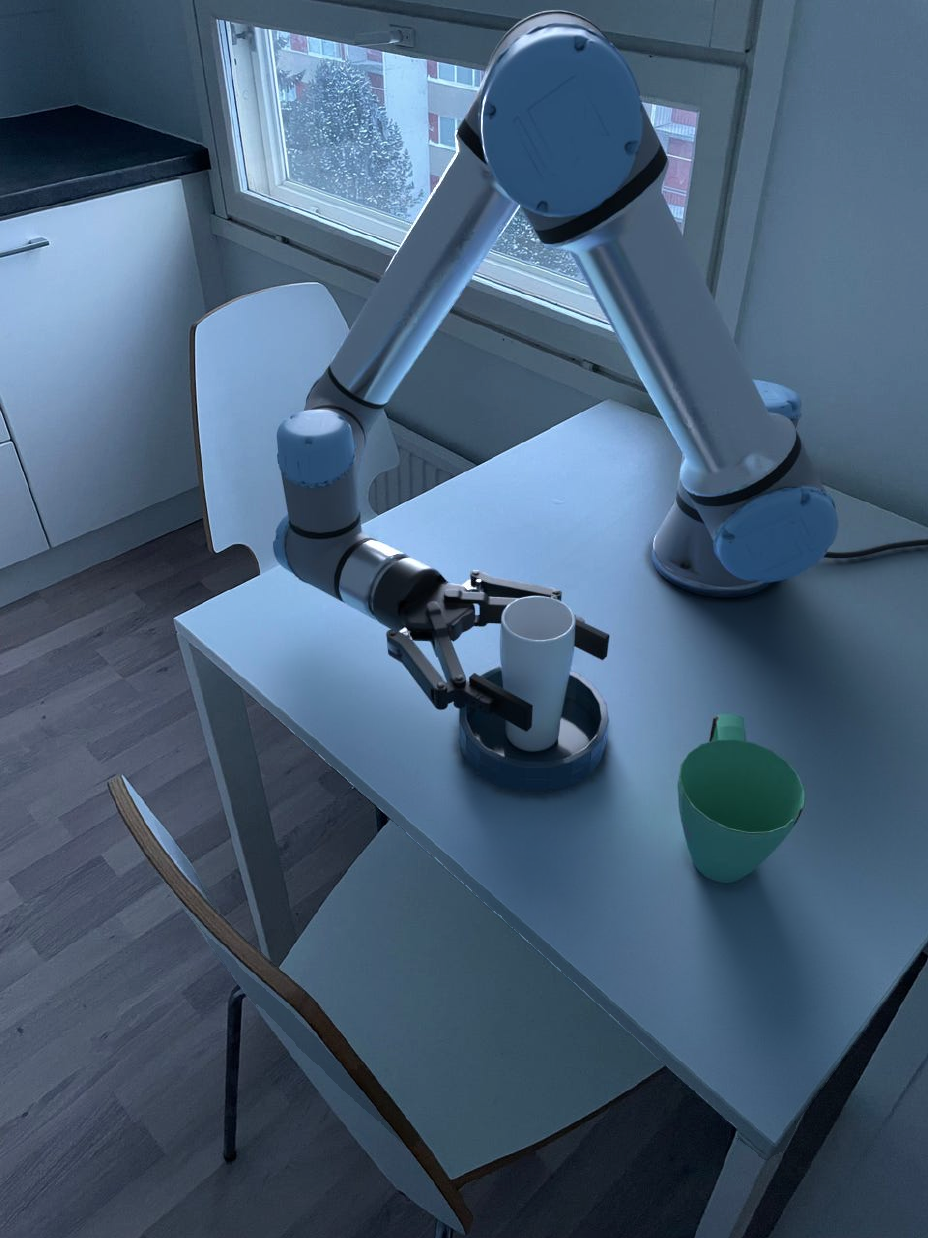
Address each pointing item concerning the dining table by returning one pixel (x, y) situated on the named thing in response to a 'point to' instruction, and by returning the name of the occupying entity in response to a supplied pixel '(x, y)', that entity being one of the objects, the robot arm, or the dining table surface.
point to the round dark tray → (548, 767)
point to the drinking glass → (537, 665)
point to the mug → (736, 801)
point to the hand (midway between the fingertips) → (569, 681)
